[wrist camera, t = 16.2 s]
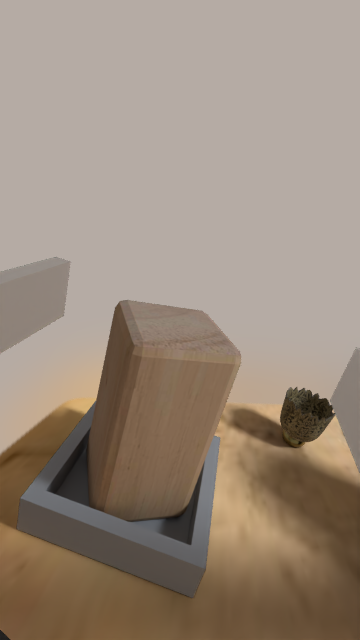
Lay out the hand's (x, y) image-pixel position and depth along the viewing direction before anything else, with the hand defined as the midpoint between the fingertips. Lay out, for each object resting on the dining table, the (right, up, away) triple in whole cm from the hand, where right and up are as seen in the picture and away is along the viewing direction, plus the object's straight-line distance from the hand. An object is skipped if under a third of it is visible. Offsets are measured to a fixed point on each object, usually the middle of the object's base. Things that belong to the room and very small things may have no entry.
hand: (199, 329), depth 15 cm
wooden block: (-6, -18, +22) cm, 29 cm away
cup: (+17, -19, +39) cm, 47 cm away
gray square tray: (-6, -19, +23) cm, 30 cm away
